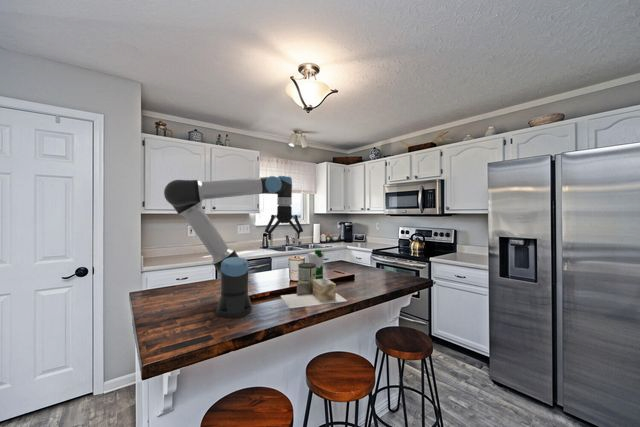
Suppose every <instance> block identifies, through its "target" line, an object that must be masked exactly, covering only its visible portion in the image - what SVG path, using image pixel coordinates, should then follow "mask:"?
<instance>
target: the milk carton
mask: <svg viewBox="0 0 640 427" xmlns="http://www.w3.org/2000/svg"><path fill="white" fill-rule="evenodd" d="M307 255H308V263H314V264H316V279H324V257H325V253H323V252H322V250H321V249H315V250H314V252H313V251H311V252H308V253H307Z"/></svg>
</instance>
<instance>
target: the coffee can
mask: <svg viewBox="0 0 640 427" xmlns="http://www.w3.org/2000/svg"><path fill="white" fill-rule="evenodd" d="M297 266H298V276H297V277H298V278H297V279H298V280H297V281H298V283H297V284H304V283H305V282H307V283H313V280H314V279H316V264H314V263H309V262H301V263H298V264H297Z"/></svg>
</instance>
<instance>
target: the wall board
mask: <svg viewBox="0 0 640 427" xmlns="http://www.w3.org/2000/svg"><path fill="white" fill-rule="evenodd" d="M280 297H281V299H282V300H283V301H284V303H285V304H286V305H287V307H288V308H289V309H295V308H296V309H297V308H304V307H310V306H311V307H312V306H319V305H326V304H335V303H342V302H348V300H347V299H346V298H344V297H343V296H341V295H340V294H338V293H337V292H336V300H331V301H323V302H321V301H320V300H318V299H317V298H316V297H315V296H314V295H313V294H305V295H297V293H291V294H285V295H284V294H282V295H280Z"/></svg>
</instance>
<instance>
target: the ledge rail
mask: <svg viewBox="0 0 640 427" xmlns="http://www.w3.org/2000/svg"><path fill="white" fill-rule="evenodd" d="M296 294H297V295H305V294H313V283H307V282H305V283H304V284H298V283H297V284H296Z"/></svg>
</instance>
